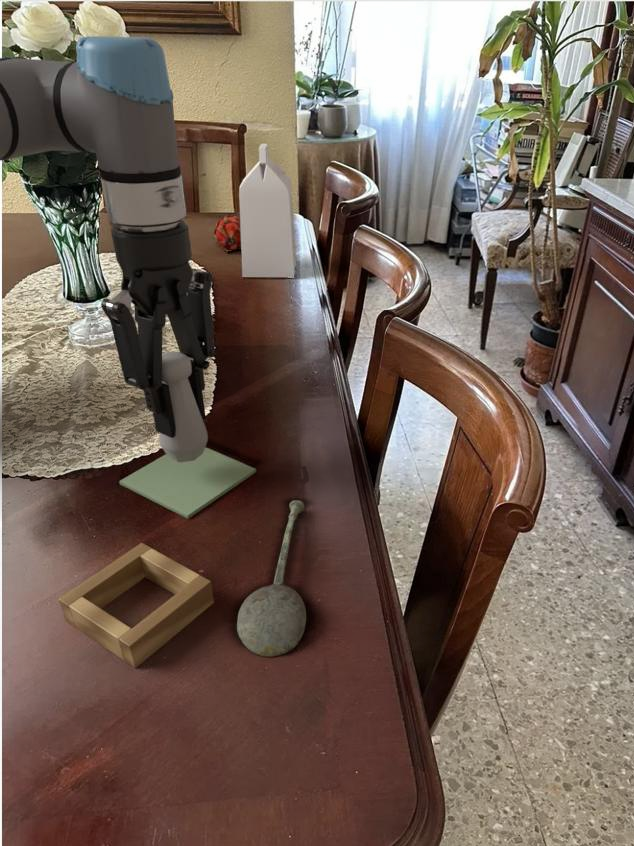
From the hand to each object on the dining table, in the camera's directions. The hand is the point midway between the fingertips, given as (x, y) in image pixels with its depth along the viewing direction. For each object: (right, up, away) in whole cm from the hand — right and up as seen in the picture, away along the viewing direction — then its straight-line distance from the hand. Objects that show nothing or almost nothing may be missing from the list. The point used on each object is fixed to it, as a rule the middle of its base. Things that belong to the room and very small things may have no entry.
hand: (181, 424), depth 79 cm
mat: (0, -6, +5) cm, 8 cm away
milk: (+1, +41, +73) cm, 84 cm away
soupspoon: (+13, -17, -9) cm, 24 cm away
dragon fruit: (-10, +51, +86) cm, 101 cm away
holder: (0, -20, -14) cm, 24 cm away
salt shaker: (0, -4, +2) cm, 4 cm away
